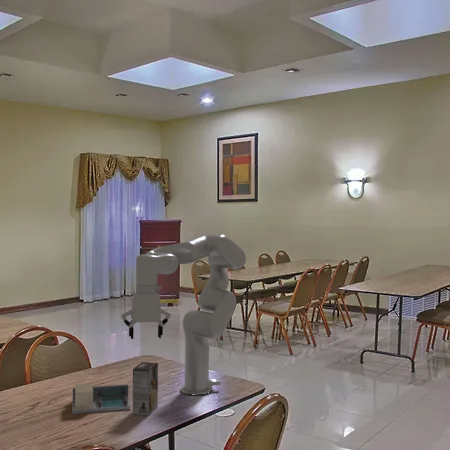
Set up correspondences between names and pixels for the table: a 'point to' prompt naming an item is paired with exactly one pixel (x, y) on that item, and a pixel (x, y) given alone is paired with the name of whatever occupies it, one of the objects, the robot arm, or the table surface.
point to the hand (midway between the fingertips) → (145, 337)
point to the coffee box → (145, 388)
